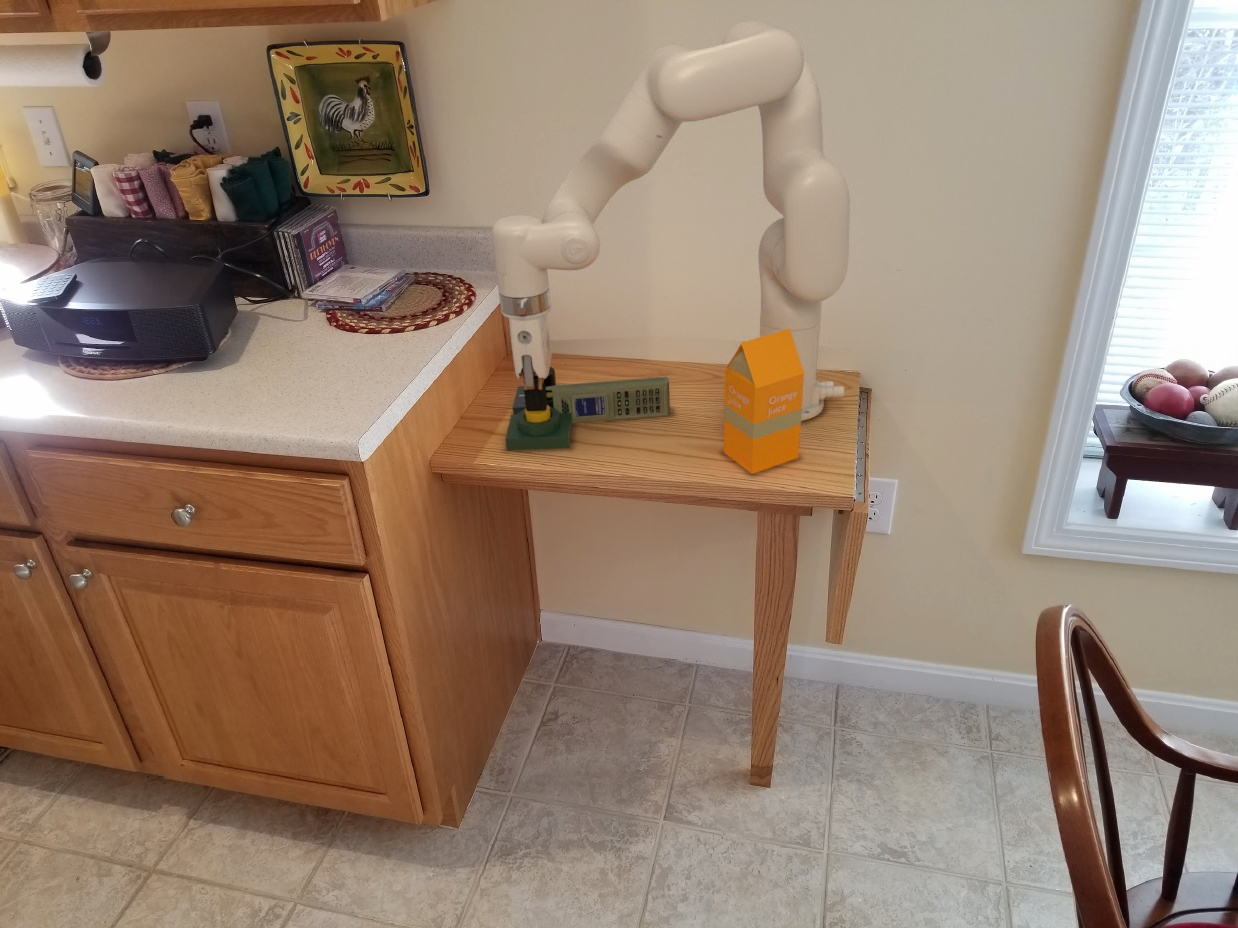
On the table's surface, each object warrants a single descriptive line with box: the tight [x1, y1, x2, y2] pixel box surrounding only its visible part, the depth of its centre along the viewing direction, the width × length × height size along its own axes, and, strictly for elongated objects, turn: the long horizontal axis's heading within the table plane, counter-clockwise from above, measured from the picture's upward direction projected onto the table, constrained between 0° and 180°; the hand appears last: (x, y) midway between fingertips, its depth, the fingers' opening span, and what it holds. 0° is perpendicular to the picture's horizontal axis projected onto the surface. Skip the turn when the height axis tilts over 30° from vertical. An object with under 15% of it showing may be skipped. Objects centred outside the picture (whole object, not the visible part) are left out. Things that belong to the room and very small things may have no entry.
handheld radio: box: [546, 376, 671, 424], centre depth 152 cm, size 7×3×25 cm
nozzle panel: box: [512, 383, 567, 415], centre depth 156 cm, size 10×9×3 cm
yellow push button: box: [525, 405, 551, 423], centre depth 146 cm, size 4×4×2 cm
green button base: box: [505, 407, 573, 451], centre depth 147 cm, size 10×8×4 cm
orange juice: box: [723, 329, 804, 475], centre depth 135 cm, size 8×9×20 cm
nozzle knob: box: [542, 366, 557, 400], centre depth 154 cm, size 4×4×5 cm
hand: (536, 408), depth 146 cm, fingers closed
